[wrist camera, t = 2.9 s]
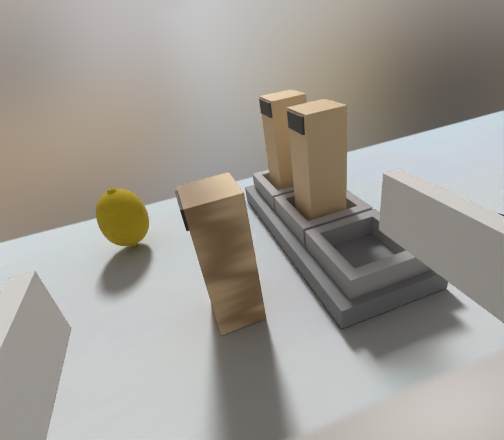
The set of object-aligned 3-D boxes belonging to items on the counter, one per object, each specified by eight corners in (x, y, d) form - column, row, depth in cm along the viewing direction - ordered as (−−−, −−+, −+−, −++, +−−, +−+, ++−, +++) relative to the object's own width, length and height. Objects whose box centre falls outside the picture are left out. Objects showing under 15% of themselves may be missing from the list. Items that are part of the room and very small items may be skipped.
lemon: (165, 240, 40) (145, 182, 36) (127, 265, 36) (100, 204, 32) (140, 229, 43) (119, 174, 39) (103, 251, 40) (76, 194, 36)
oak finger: (251, 288, 30) (228, 172, 24) (266, 319, 27) (243, 192, 21) (209, 303, 29) (173, 186, 23) (218, 336, 26) (180, 210, 20)
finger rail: (310, 182, 48) (304, 82, 40) (446, 288, 27) (485, 121, 20) (247, 199, 46) (229, 98, 39) (341, 329, 25) (341, 160, 18)
